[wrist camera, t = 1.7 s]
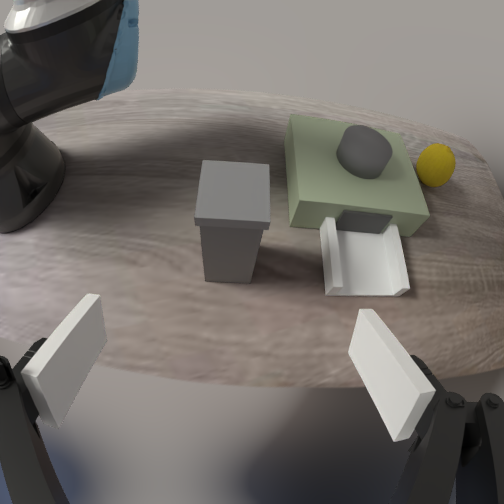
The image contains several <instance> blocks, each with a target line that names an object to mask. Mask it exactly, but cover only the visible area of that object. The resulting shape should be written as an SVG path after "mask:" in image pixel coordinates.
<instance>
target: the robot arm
mask: <svg viewBox="0 0 504 504" xmlns="http://www.w3.org/2000/svg"><path fill="white" fill-rule="evenodd" d="M13 2H14V4H13V7H12V9H11V11H10V13H9V15H8V17H7V18H6V21H5V23H4V28H5V31H6V33H4V34H2V35H0V233H6V232H11V231H14V230H17V229H19V228H21V227H23V226H25V225H27V224H28V223H30V222H31V221H32V220H34V219H35V218H36V217H37V216H38V215H39V214H41V213H42V212H43V211H44V209H45V208H46V207H47V206H48V205H49V204H50V202H51V201H52V200H53V198H54V197H55V195H56V194H57V192H58V190H59V188H60V186H61V183H62V180H63V177H64V172H65V164H64V160H63V158H62V155H61V153H60V151H59V149H58V147H57V146H56V145H55V144H54V143H53V142H52V141H50V140H49V139H48V138H47V137H46V136H45V135H44V134H43V133H42V132H41V131H40V130H39V129H38V128H37V127H35V126H34V125H33V123H32V122H34V121H36V120H39V119H41V118H44V117H46V116H49V115H51V114H54V113H57V112H59V111H62V110H65V109H68V108H71V107H74V106H77V105H80V104H83V103H86V102H89V101H92V100H99V99H101V98H103V96H106V95H109V94H112V93H115V92H118V91H121V90H124V89H126V88H127V87H129V85H130V84H131V83H132V82H133V80H134V79H135V76H136V72H137V63H138V41H139V36H138V35H139V28H138V25H137V24H138V15H139V6H138V0H13ZM106 342H107V337H106V331H105V325H104V318H103V311H102V304H101V296H100V295H95V294H86V296H85V297H84V298H83V299H82V300H81V301H80V302H79V303H78V304H77V305H76V307H75V308H74V309H73V310H72V311H71V312H70V313H69V314H68V316H67V317H66V318H65V319H64V320H63V321H62V323H61V324H60V325H59V326H58V327H57V328H56V329H55V331H54V332H53V333H52V334H51V335H50V337H49V338H48V339H47V338H42V339H40V340H38V341H37V342H35V343H34V344H33V345H32V346H31V347H30V349H29V351H27V352H26V353H25V354H24V356H23V357H22V358H21V359H20V361H19V362H18V363H17V364H16V365H15V367H14V368H13V369H12V368H11V366H10V363H9V361H8V359H7V358H5V357H3V356H0V462H1V466H2V470H3V473H4V477H5V480H6V484H7V487H8V491H9V494H10V497H11V500H12V503H13V504H70V503H69V501H68V499H67V497H66V495H65V493H64V491H63V489H62V486H61V484H60V482H59V480H58V478H57V475H56V473H55V471H54V468H53V466H52V464H51V461H50V458H49V456H48V453H47V450H46V448H45V445H44V442H43V439H42V437H41V434H40V431H39V428H38V425H37V423H36V419H37V417H38V415H39V416H40V418H41V420H42V422H43V424H45V425H48V426H51V427H54V428H58V429H59V428H60V426H61V424H62V422H63V420H64V418H65V416H66V415H67V412H68V411H69V409H70V407H71V405H72V403H73V401H74V399H75V397H76V395H77V393H78V392H79V390H80V388H81V386H82V384H83V382H84V381H85V379H86V377H87V375H88V373H89V372H90V370H91V368H92V366H93V364H94V363H95V361H96V359H97V357H98V356H99V354H100V352H101V350H102V349H103V347H104V345H105V344H106ZM348 353H349V355H350V357H351V359H352V361H353V363H354V365H355V367H356V369H357V370H358V372H359V374H360V376H361V378H362V380H363V382H364V384H365V386H366V388H367V389H368V392H369V394H370V395H371V397H372V399H373V401H374V403H375V405H376V407H377V409H378V411H379V413H380V415H381V417H382V419H383V421H384V423H385V425H386V427H387V429H388V431H389V433H390V435H391V437H392V439H393V441H394V442H395V441H400V440H404V439H408V438H409V437H410V436H411V434H412V432H413V431H414V429H415V430H416V431H417V433H418V436H417V438H416V440H415V441H414V443H413V444H412V446H411V447H410V449H409V450H408V451H409V452H410V451H411V453H410V455H409V458H408V461H407V463H406V466H405V468H404V471H403V473H402V476H401V478H400V480H399V483H398V485H397V487H396V489H395V492H394V494H393V496H392V498H391V500H390V502H389V504H448V502H449V499H450V496H451V492H452V488H453V484H454V480H455V476H456V504H504V402H503V400H502V399H501V398H500V397H499V396H497V395H495V394H492V393H485V394H484V395H483V396H482V397H481V399H480V400H479V402H466V400H465V399H464V398H463V397H462V396H461V395H459V394H457V393H454V392H447V391H446V390H445V389H444V388H443V386H442V385H441V384H440V382H439V381H438V380H437V378H436V377H435V376H434V375H432V372H431V371H430V370H429V369H428V367H427V366H426V364H425V363H424V362H423V361H422V360H421V359H419V358H418V357H416V356H415V355H409V354H408V353H407V352H406V350H405V349H404V348H403V346H402V345H401V344H400V343H399V341H398V340H397V339H396V338H395V336H394V335H393V334H392V332H391V331H390V330H389V329H388V327H387V326H386V325H385V324H384V323H383V321H382V320H381V319H380V318H379V316H378V315H377V314H376V313H375V311H374V310H373V309H359V313H358V317H357V321H356V325H355V329H354V333H353V337H352V340H351V344H350V347H349V351H348Z"/></svg>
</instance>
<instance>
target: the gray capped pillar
mask: <svg viewBox="0 0 504 504" xmlns="http://www.w3.org/2000/svg"><path fill="white" fill-rule="evenodd" d="M194 219H195V226H200V235H201V245H202V256H203V266H204V275H205V281H213V282H230V283H249V284H250V282H251V278H252V274H253V270H254V266H255V262H256V258H257V254H258V250H259V246H260V242H261V238H262V234H263V230H268V229H269V226H270V177H269V164H258V163H245V162H230V161H212V160H203V162H202V168H201V174H200V181H199V188H198V194H197V201H196V209H195V216H194Z"/></svg>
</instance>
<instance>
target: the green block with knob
mask: <svg viewBox="0 0 504 504" xmlns="http://www.w3.org/2000/svg"><path fill="white" fill-rule="evenodd" d="M284 147H285V160H286V174H287V189H288V205H289V223H290V227H302V228H315V229H320V238H321V248H322V259H323V270H324V282H325V295H326V296H400V295H401V294H403V293H404V292H406V291H407V290H408V289H410V286H409V280H408V275H407V269H406V264H405V259H404V254H403V249H402V245H401V240H400V236H405V237H411V236H412V235H413V233H414V232H415V231H416V230H417V229H418V228H419V227H420V226H421V225H422V224H423V223H424V222H425V221H426V220H427V219H428V218H429V217H430V214H429V211H428V208H427V204H426V201H425V198H424V195H423V192H422V190H421V187H420V184H419V181H418V178H417V176H416V173H415V170H414V168H413V165H412V162H411V160H410V157H409V155H408V152H407V150H406V147H405V145H404V143H403V140H402V138H401V136H400V134H398V133H394V132H389V131H385V130H381V129H376V128H371V127H367V126H363V125H357V124H352V123H346V122H341V121H335V120H329V119H323V118H316V117H310V116H302V115H295V114H290V119H289V123H288V127H287V131H286V135H285V140H284Z"/></svg>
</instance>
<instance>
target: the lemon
mask: <svg viewBox="0 0 504 504" xmlns="http://www.w3.org/2000/svg"><path fill="white" fill-rule="evenodd" d="M454 169H455V157H454V154H453V152H452V151H451V149H450V147H448V146H445V145H443V144H438V143H436V144H432V145H430V146H428V147H427V148H426V149H425V150H424V151H423V152H422V153H421V154H420V156H419V158H418V161H417V165H416V170H417V175H418V177H419V179H420V180H421V181H422V183H423V184H426V185H427V186H430V187H439V186H441V185H443V184H445V183H446V182H447V181H448V180H449V179H450V177H451V176H452V174H453V172H454Z"/></svg>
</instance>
